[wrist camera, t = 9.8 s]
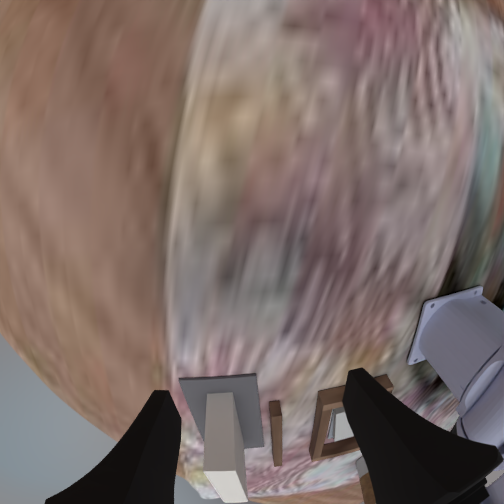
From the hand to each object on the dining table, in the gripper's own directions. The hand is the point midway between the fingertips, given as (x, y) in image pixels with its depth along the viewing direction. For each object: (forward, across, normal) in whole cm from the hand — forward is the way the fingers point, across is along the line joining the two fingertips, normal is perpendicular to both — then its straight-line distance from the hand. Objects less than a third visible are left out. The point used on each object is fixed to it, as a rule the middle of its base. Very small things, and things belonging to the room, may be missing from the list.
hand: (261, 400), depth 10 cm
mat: (+10, +4, +16) cm, 19 cm away
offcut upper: (+10, -10, +20) cm, 24 cm away
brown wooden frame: (+10, -7, +20) cm, 24 cm away
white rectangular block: (+10, +4, +16) cm, 19 cm away
